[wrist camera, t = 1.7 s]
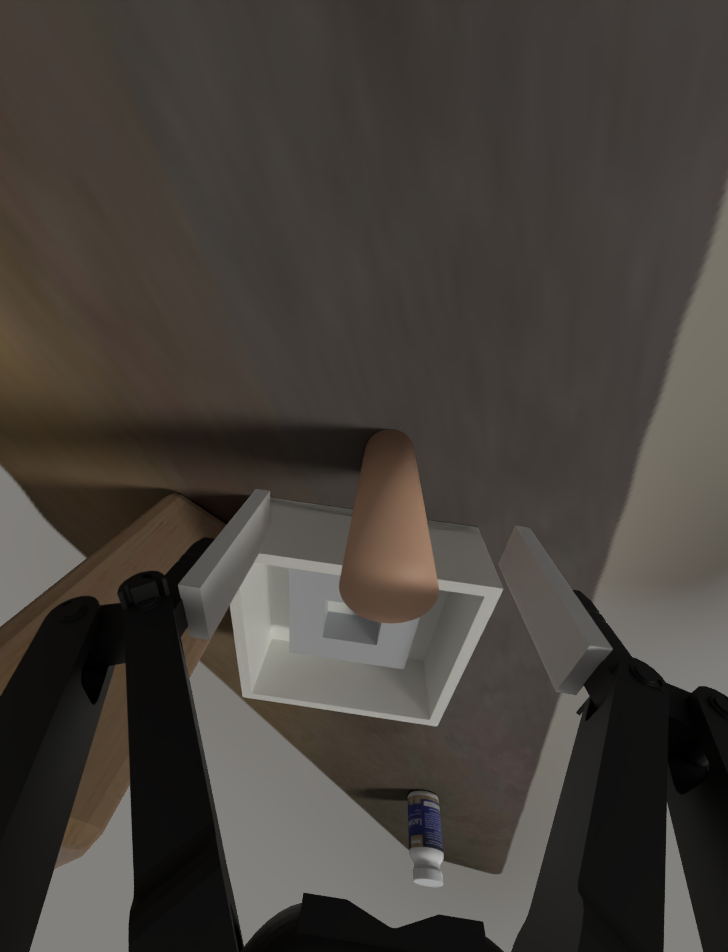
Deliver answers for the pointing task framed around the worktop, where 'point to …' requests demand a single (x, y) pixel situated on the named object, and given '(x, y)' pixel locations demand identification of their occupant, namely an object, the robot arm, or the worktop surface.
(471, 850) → the worktop surface
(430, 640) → the tub
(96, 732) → the wooden block
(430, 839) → the pill bottle
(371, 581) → the peg
